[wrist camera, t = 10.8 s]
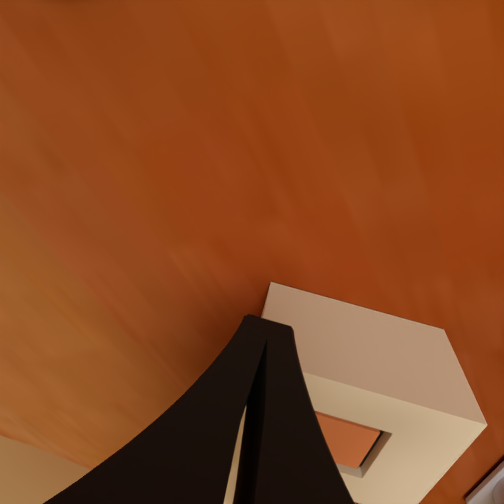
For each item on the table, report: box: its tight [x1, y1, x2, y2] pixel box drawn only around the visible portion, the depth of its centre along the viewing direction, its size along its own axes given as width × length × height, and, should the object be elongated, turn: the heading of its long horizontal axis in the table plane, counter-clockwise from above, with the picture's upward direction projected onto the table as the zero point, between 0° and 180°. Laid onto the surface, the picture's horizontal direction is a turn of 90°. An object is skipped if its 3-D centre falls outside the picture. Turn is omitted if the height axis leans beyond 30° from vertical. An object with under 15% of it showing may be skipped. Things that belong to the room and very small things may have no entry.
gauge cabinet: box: [232, 282, 487, 504], centre depth 19 cm, size 10×8×6 cm
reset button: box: [315, 411, 380, 469], centre depth 18 cm, size 3×3×2 cm
